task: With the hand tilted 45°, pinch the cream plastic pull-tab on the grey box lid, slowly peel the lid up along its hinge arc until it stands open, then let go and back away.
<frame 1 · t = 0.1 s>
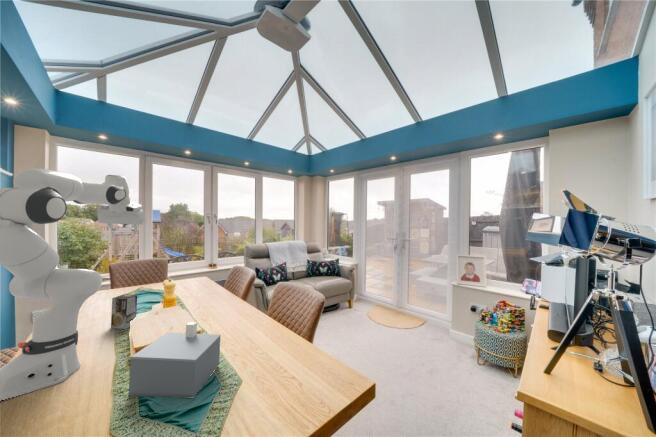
hand: (124, 231, 127), 52 cm above the table, tool tilted 20°, fingers open, 8 cm apart
grey box lid: (180, 339, 89), point 15 cm above the table, hinge at 0.0°
carton: (178, 379, 89), on the table
coffee box: (123, 326, 130), on the table
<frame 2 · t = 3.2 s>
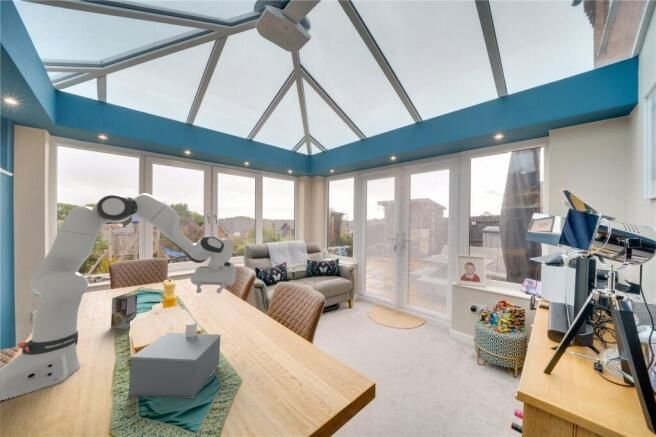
hand: (208, 292, 111), 26 cm above the table, tool tilted 40°, fingers open, 8 cm apart
nothing on the table moved.
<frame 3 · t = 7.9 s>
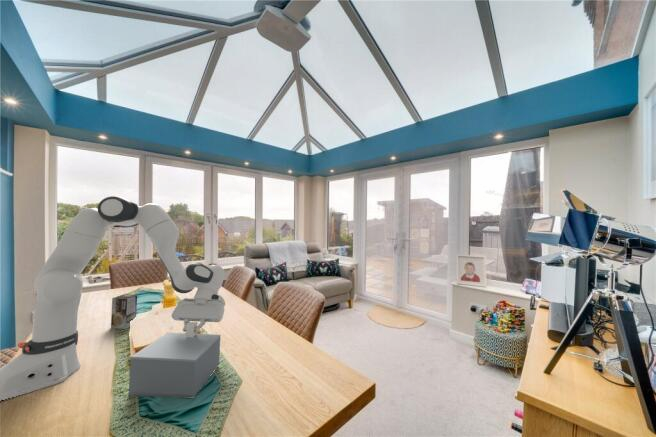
hand: (190, 331, 95), 15 cm above the table, tool tilted 45°, fingers closed on grey box lid, 3 cm apart
grey box lid: (180, 339, 89), point 15 cm above the table, hinge at 0.0°, touching gripper
everything else where it was.
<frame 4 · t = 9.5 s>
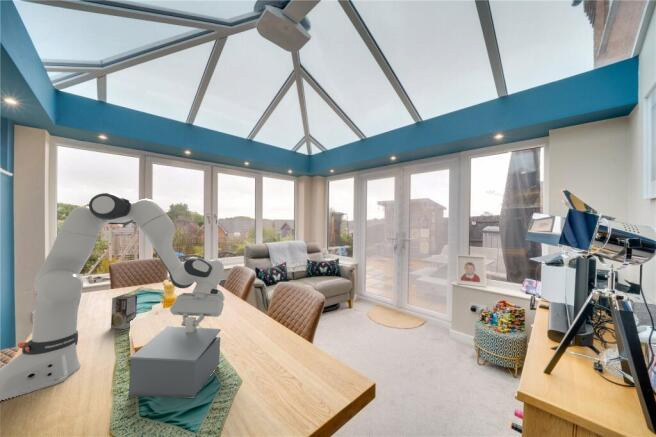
hand: (189, 325, 94), 18 cm above the table, tool tilted 45°, fingers closed on grey box lid, 3 cm apart
grey box lid: (179, 336, 88), point 16 cm above the table, hinge at 8.3°, touching gripper
everything else where it was.
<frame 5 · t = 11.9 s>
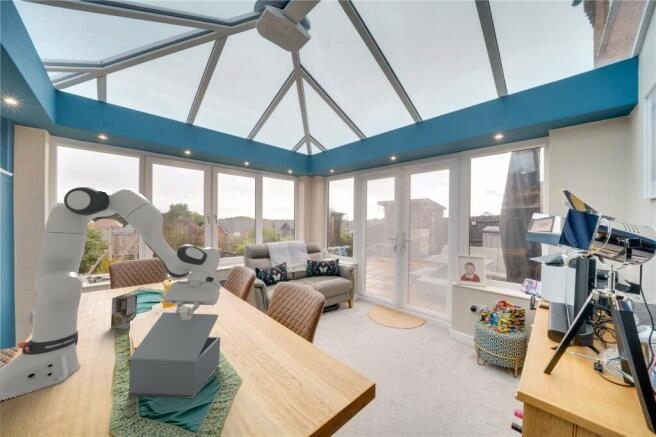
hand: (183, 314, 90), 24 cm above the table, tool tilted 45°, fingers closed on grey box lid, 3 cm apart
grey box lid: (176, 330, 86), point 19 cm above the table, hinge at 32.0°, touching gripper
everything else where it was.
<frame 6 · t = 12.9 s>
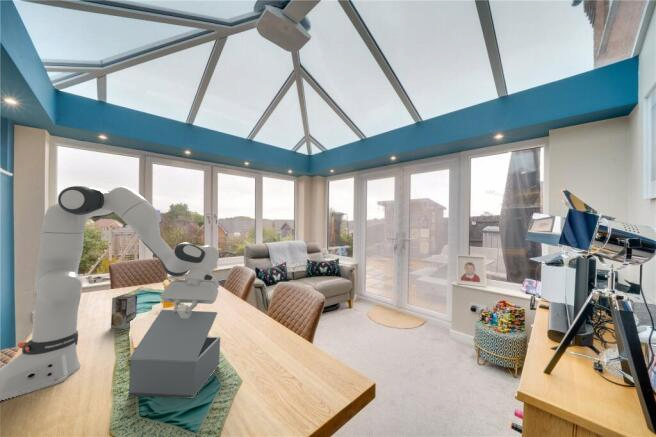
hand: (181, 312, 89), 25 cm above the table, tool tilted 45°, fingers closed on grey box lid, 3 cm apart
grey box lid: (174, 330, 85), point 20 cm above the table, hinge at 37.7°, touching gripper
everything else where it was.
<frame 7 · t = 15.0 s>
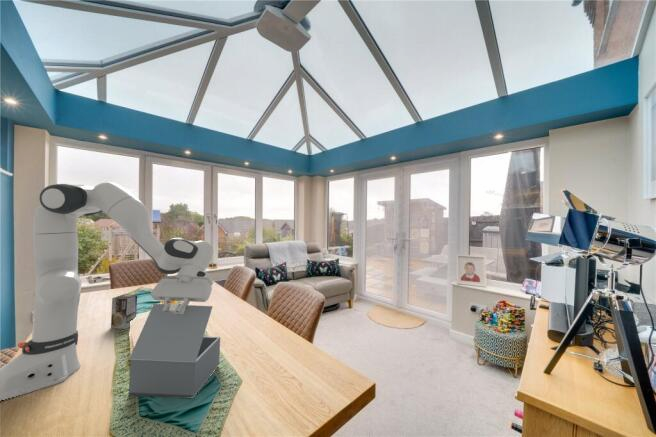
hand: (171, 311, 83), 27 cm above the table, tool tilted 45°, fingers closed on grey box lid, 3 cm apart
grey box lid: (169, 329, 83), point 21 cm above the table, hinge at 56.4°, touching gripper
everything else where it was.
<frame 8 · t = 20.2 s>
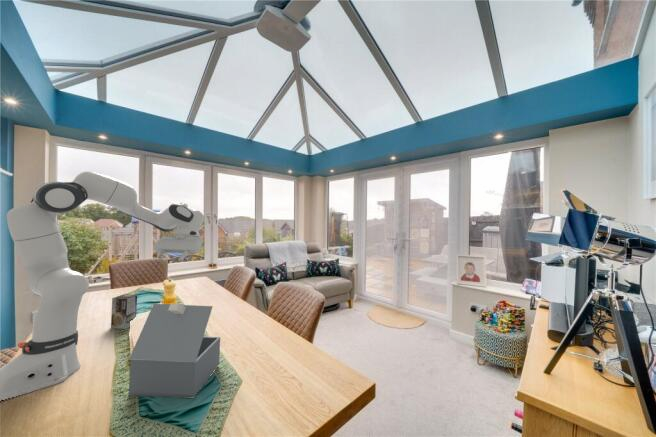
hand: (169, 259, 107), 41 cm above the table, tool tilted 45°, fingers open, 8 cm apart
grey box lid: (169, 329, 83), point 21 cm above the table, hinge at 56.5°
everything else where it was.
at the end: grey box lid at +56° (first picture: +0°); the gripper is holding nothing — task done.
